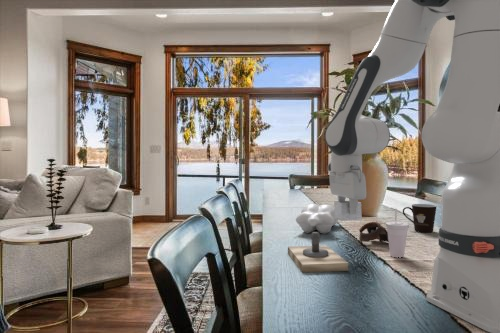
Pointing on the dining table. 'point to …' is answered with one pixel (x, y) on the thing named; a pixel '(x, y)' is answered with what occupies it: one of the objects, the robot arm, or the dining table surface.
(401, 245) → the smoothie
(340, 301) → the dining table surface
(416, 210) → the coffee mug
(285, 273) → the dining table surface
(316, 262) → the post block
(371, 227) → the brown hollow curved piece
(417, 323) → the dining table surface
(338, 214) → the grey hollow square block
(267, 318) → the dining table surface
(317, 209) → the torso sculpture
